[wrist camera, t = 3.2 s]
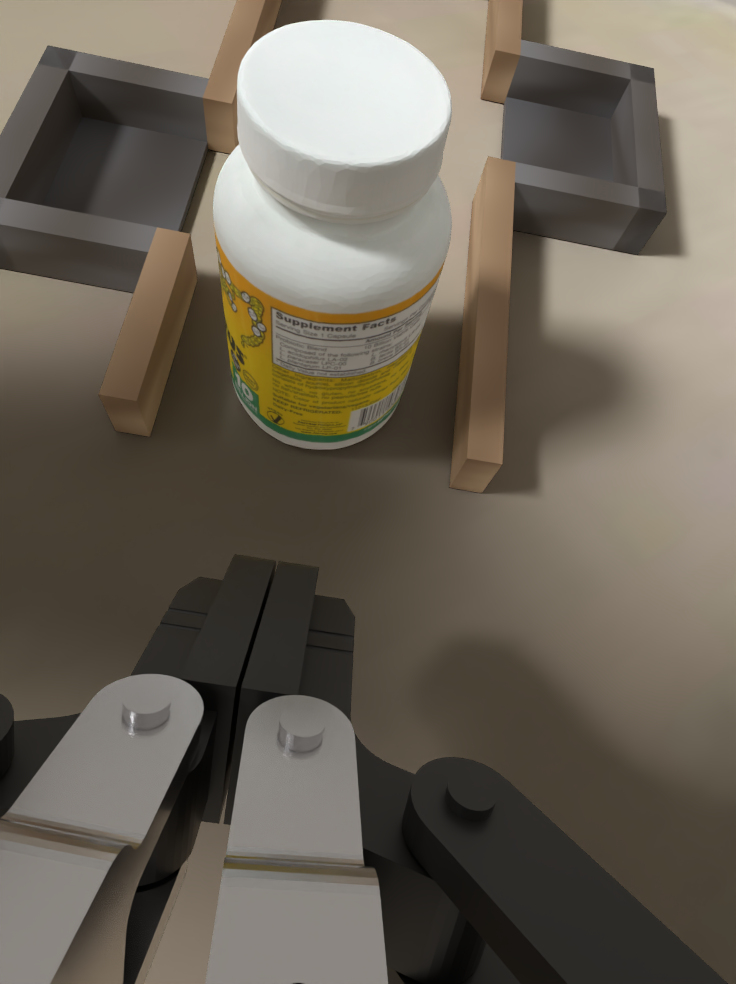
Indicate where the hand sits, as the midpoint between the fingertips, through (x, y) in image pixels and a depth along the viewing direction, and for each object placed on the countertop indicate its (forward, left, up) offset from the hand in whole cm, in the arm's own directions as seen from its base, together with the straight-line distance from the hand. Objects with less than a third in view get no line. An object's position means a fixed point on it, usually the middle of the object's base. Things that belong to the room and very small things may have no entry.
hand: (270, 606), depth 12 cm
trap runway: (0, +19, -6) cm, 20 cm away
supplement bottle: (0, +9, -6) cm, 11 cm away
